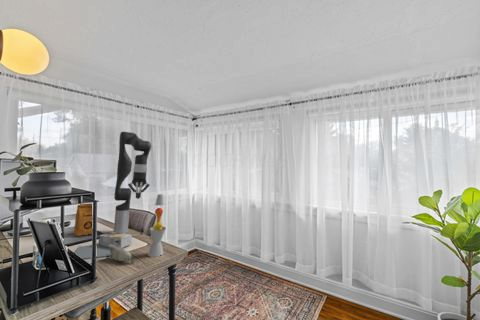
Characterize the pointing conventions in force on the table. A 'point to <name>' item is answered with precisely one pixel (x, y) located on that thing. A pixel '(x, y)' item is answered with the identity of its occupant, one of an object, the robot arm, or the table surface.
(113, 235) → the coffee box
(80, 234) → the coffee package
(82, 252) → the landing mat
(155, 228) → the lava lamp
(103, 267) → the table surface
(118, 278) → the table surface
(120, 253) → the decorative bird
